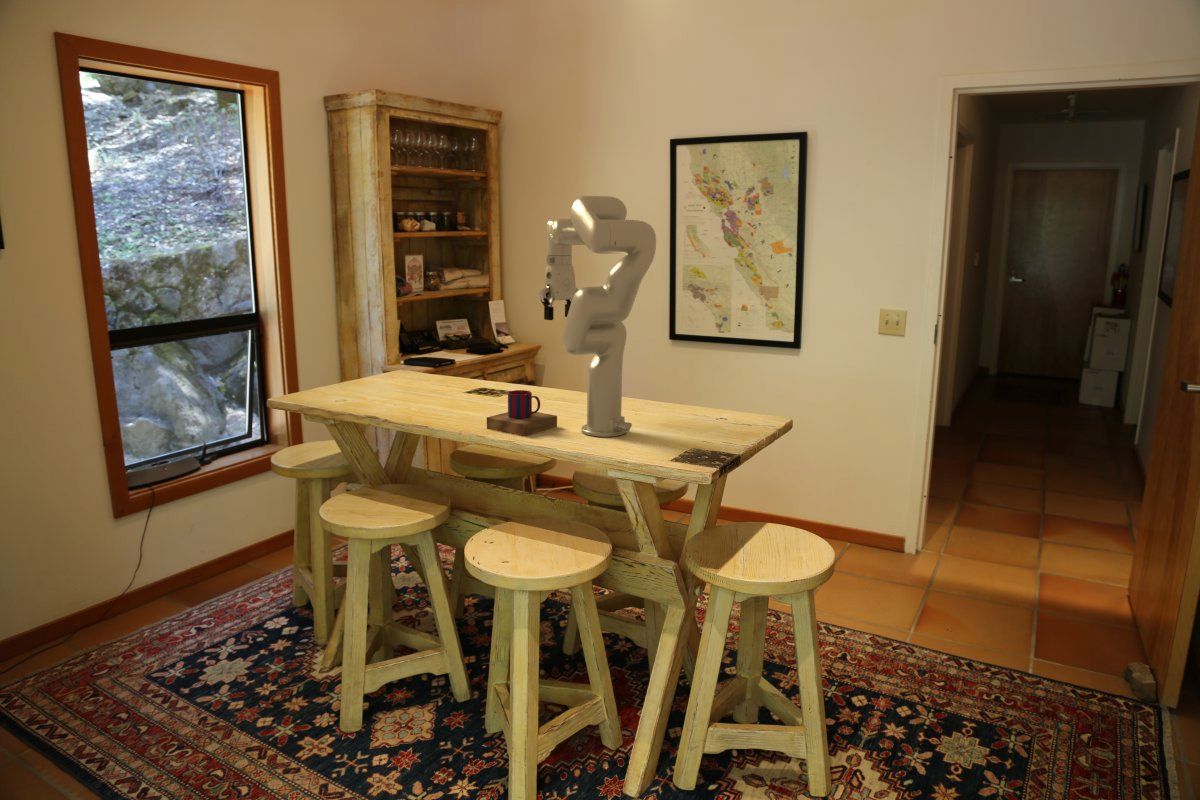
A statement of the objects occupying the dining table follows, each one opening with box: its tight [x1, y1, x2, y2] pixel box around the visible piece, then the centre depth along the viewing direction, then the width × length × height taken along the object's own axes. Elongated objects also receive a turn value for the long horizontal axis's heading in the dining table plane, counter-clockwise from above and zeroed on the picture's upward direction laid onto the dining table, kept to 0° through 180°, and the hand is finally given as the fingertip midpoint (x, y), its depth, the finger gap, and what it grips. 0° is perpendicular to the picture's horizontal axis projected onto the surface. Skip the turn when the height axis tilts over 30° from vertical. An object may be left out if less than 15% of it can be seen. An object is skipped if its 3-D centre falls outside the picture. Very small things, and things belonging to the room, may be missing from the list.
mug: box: [507, 389, 541, 419], centre depth 236 cm, size 7×10×7 cm
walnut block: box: [486, 410, 558, 437], centre depth 238 cm, size 14×14×4 cm
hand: (559, 318), depth 256 cm, fingers open, 9 cm apart
